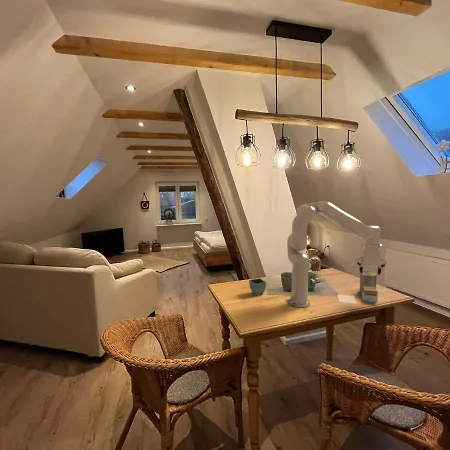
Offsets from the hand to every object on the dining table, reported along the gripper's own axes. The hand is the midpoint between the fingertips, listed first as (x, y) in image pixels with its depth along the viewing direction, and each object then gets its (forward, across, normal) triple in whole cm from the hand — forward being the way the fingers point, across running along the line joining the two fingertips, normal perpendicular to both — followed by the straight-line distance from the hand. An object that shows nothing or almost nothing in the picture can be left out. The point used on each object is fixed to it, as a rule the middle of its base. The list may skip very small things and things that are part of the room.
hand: (369, 273), depth 172 cm
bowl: (+17, -1, 0) cm, 17 cm away
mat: (+18, +12, +2) cm, 21 cm away
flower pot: (+19, +68, +5) cm, 71 cm away
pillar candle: (+17, -2, -13) cm, 21 cm away
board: (+13, -1, 0) cm, 13 cm away
